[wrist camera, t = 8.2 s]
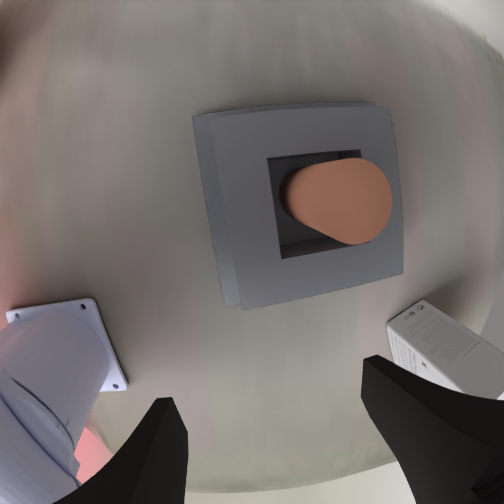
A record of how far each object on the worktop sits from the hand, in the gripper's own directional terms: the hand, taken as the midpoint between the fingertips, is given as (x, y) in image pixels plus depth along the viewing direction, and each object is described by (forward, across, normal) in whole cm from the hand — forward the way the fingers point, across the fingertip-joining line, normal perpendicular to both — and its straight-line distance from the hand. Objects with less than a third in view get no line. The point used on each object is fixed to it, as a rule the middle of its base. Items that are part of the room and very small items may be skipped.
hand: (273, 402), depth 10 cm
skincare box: (+11, -14, +7) cm, 19 cm away
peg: (+9, -5, -6) cm, 12 cm away
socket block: (+10, -4, -6) cm, 13 cm away
